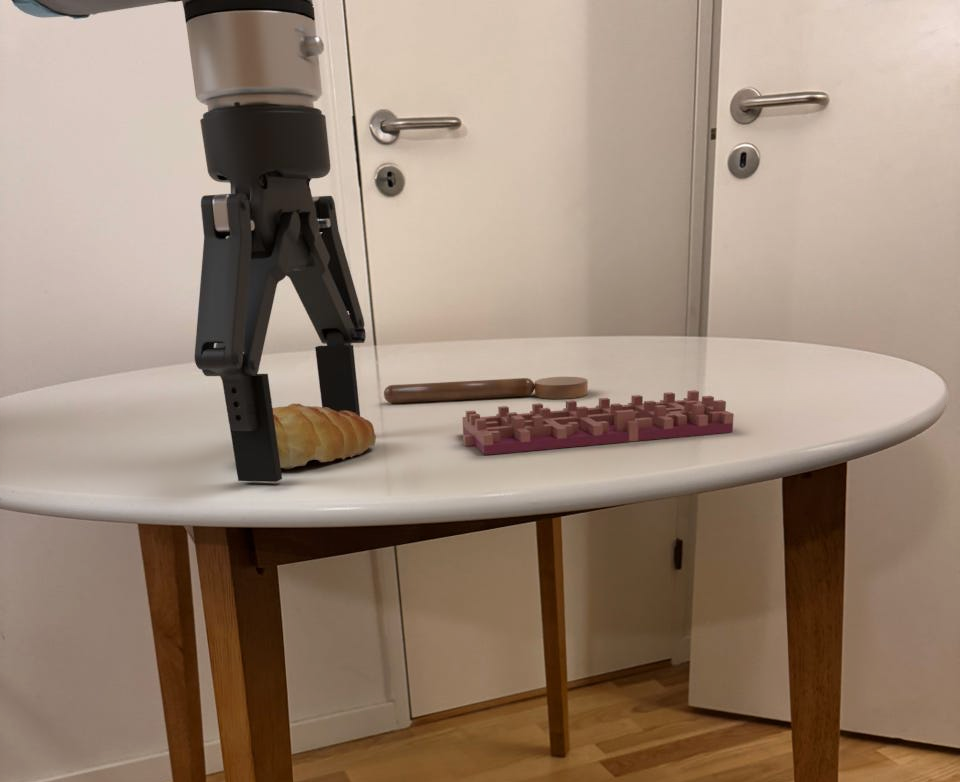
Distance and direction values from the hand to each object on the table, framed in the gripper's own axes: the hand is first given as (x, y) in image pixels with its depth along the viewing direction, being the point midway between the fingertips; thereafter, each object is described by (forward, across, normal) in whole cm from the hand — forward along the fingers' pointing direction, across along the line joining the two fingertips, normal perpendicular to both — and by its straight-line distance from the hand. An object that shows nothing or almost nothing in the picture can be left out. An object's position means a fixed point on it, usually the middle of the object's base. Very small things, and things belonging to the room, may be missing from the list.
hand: (305, 455), depth 65 cm
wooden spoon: (0, +24, -7) cm, 25 cm away
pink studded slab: (0, +9, -19) cm, 21 cm away
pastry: (0, 0, 0) cm, 0 cm away
